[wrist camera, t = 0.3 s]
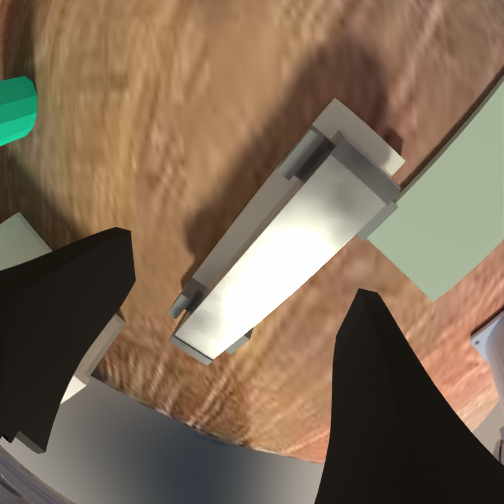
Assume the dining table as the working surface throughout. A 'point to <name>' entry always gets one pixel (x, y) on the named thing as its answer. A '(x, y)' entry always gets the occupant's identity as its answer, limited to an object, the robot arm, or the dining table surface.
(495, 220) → the mat
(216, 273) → the standards
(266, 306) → the rail
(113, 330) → the butter dish
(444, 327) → the dining table surface
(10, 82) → the candle
